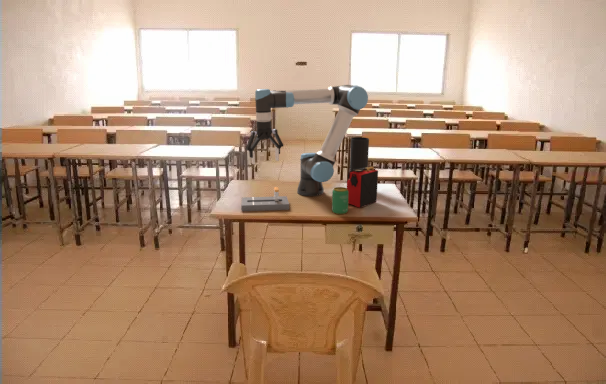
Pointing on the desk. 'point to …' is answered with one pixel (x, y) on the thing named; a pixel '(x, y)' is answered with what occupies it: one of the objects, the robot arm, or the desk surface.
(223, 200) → the desk surface
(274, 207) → the console
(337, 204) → the beverage can
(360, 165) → the vase
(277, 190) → the fader
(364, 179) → the radio
